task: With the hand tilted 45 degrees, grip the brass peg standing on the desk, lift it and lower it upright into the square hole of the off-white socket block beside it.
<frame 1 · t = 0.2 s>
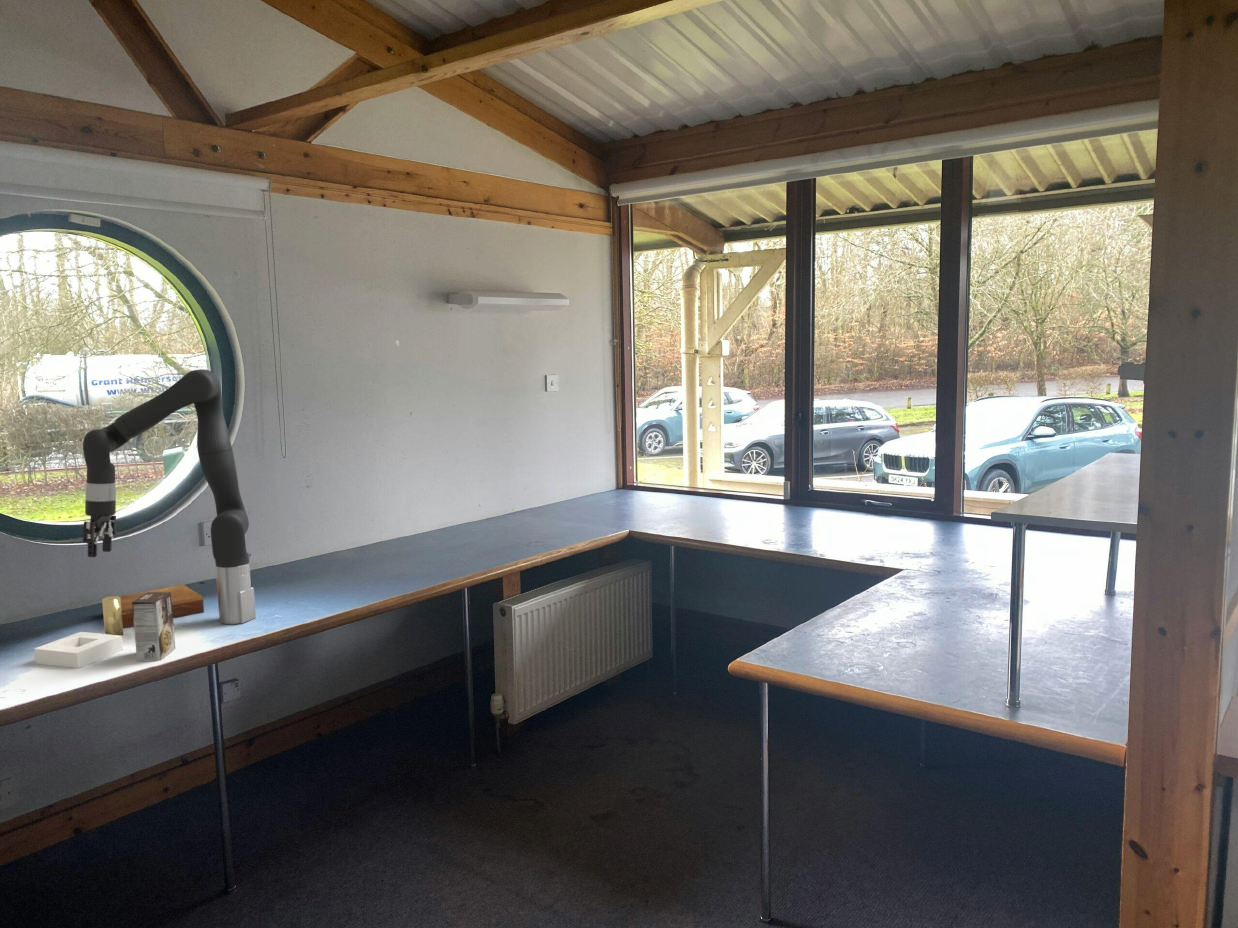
hand: (99, 554, 249), 22 cm above the table, tool pointing down, fingers open, 8 cm apart
coffee box: (156, 655, 230), on the table
peg: (114, 635, 246), on the table
socket: (80, 656, 230), on the table
brown wooden box: (154, 615, 267), on the table
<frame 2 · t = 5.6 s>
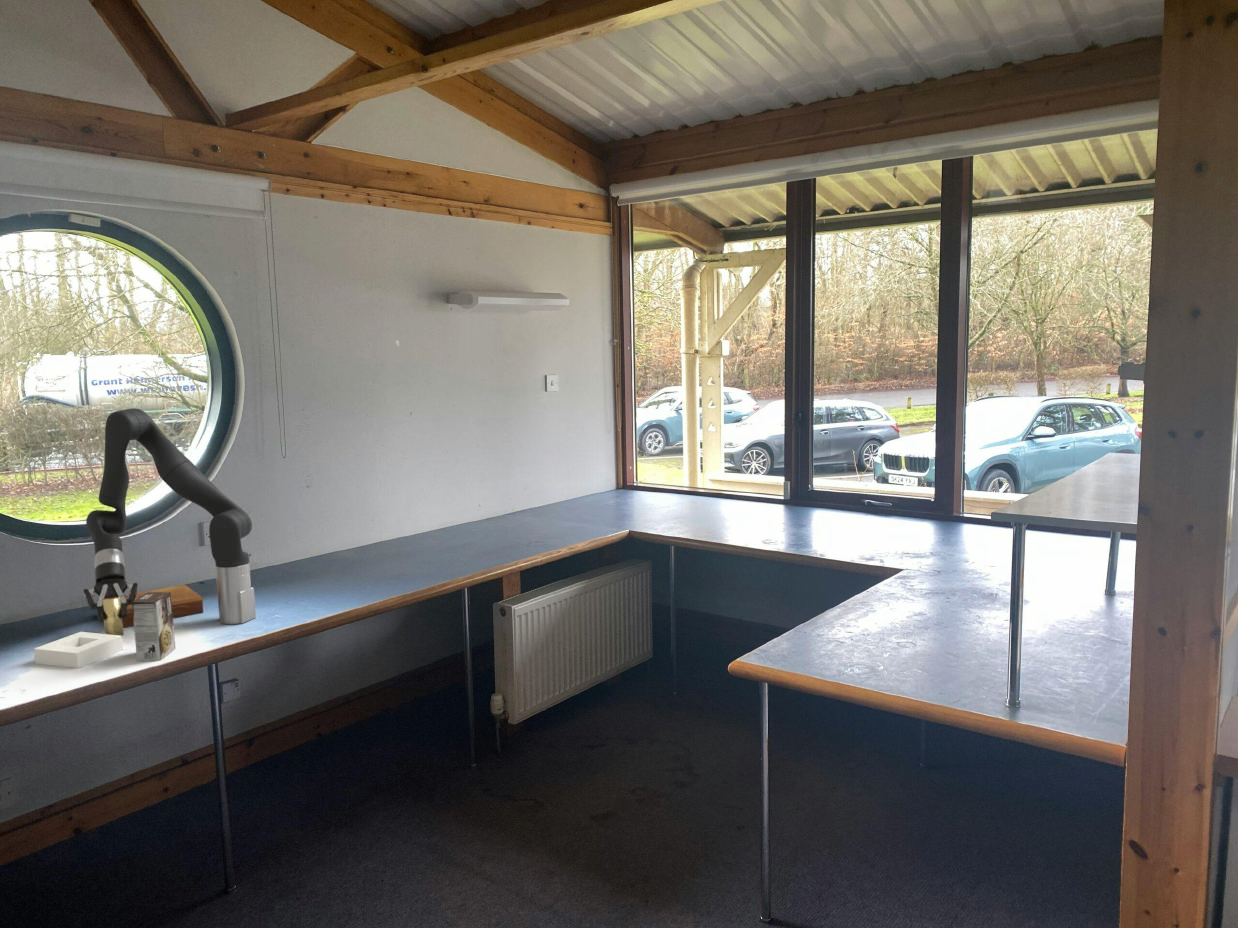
hand: (112, 618, 244), 6 cm above the table, tool tilted 45°, fingers closed on peg, 4 cm apart
peg: (114, 635, 246), on the table, touching gripper
everything else where it was.
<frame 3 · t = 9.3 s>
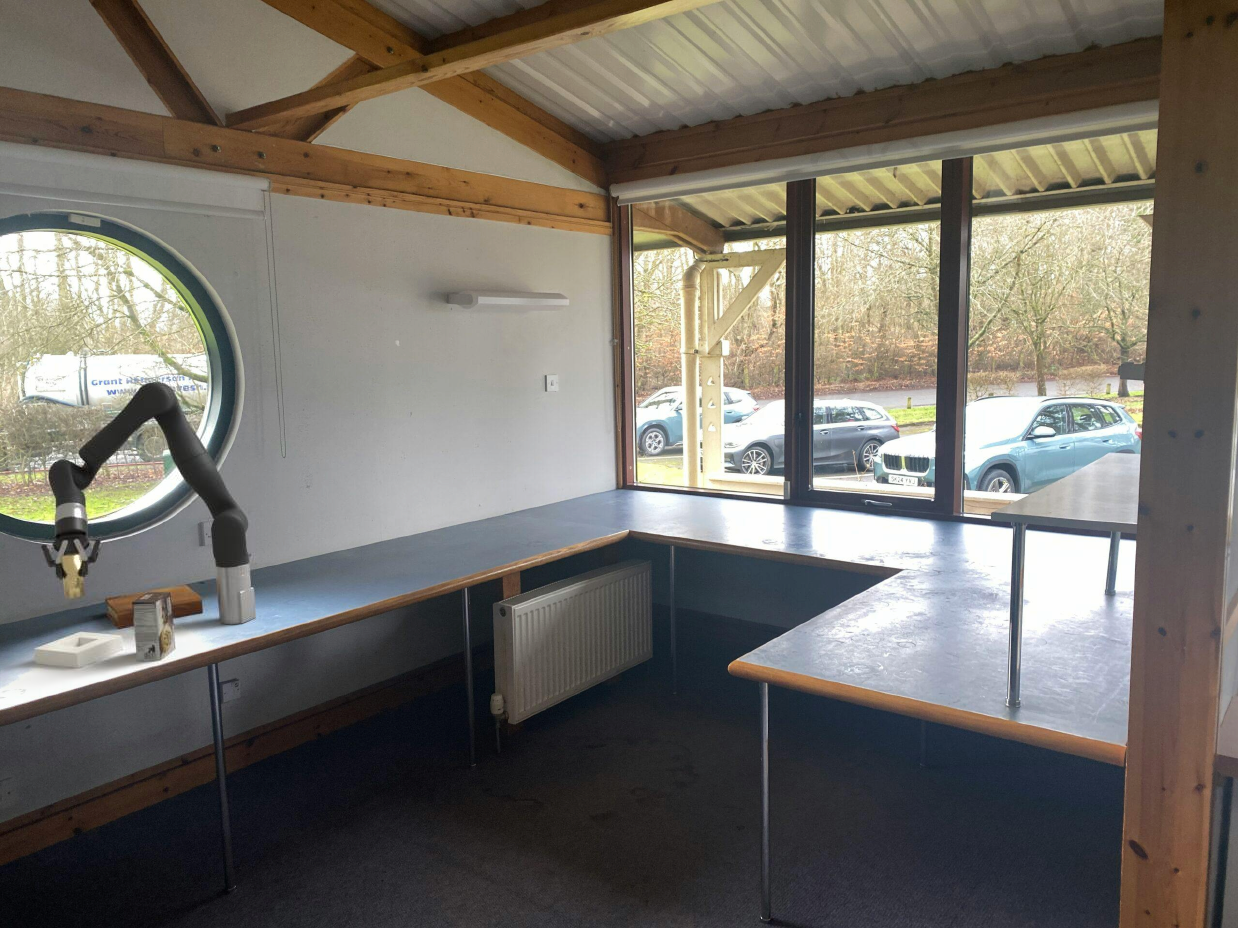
hand: (72, 576, 226), 22 cm above the table, tool tilted 45°, fingers closed on peg, 4 cm apart
peg: (74, 595, 228), point 16 cm above the table, touching gripper
everything else where it was.
when the fingers open (8 cm above the table, at t = 13.3 s): peg drops 2 cm, resting in socket.
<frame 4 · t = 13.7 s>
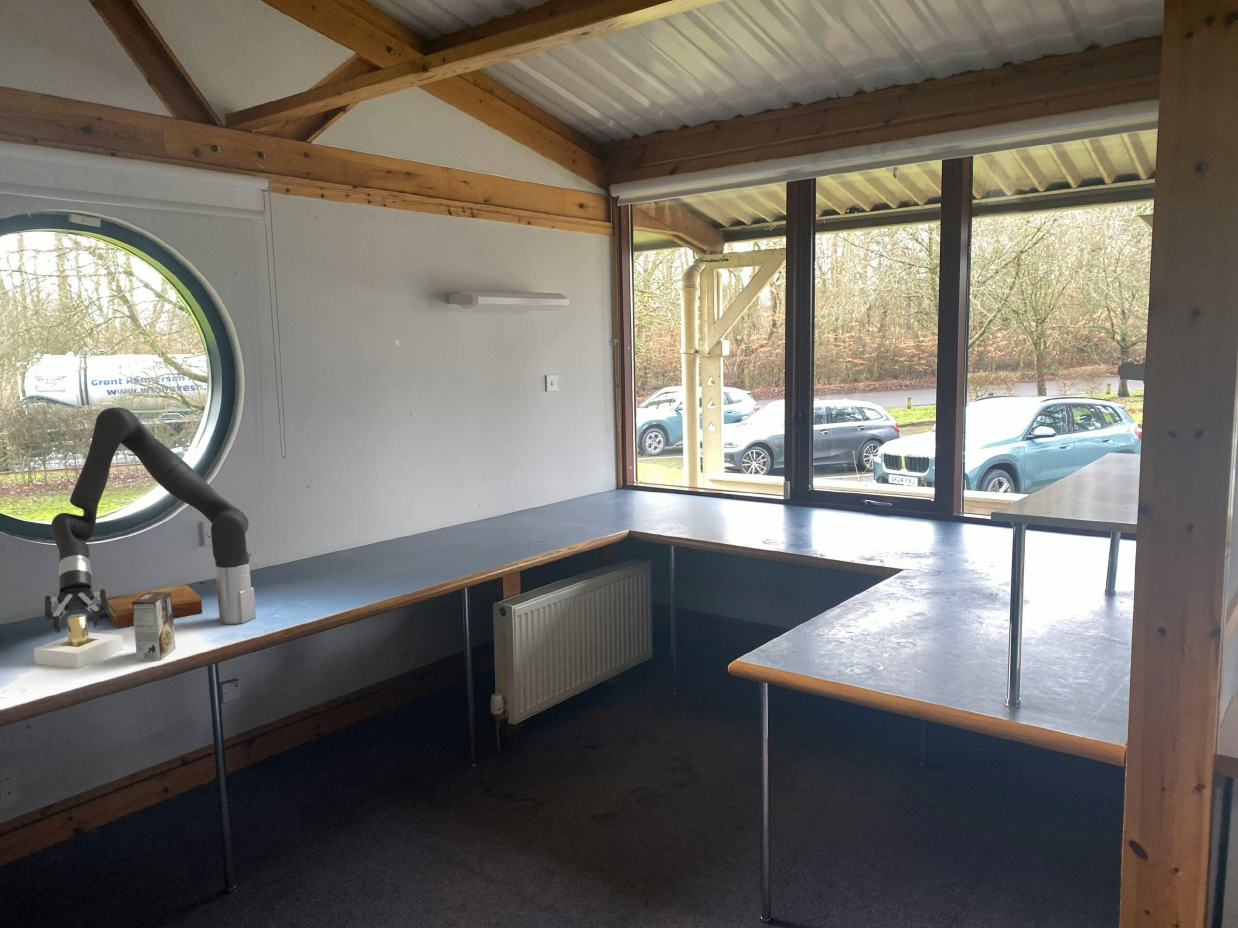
hand: (77, 628, 227), 8 cm above the table, tool tilted 45°, fingers open, 8 cm apart
peg: (80, 656, 230), resting in socket
everything else where it was.
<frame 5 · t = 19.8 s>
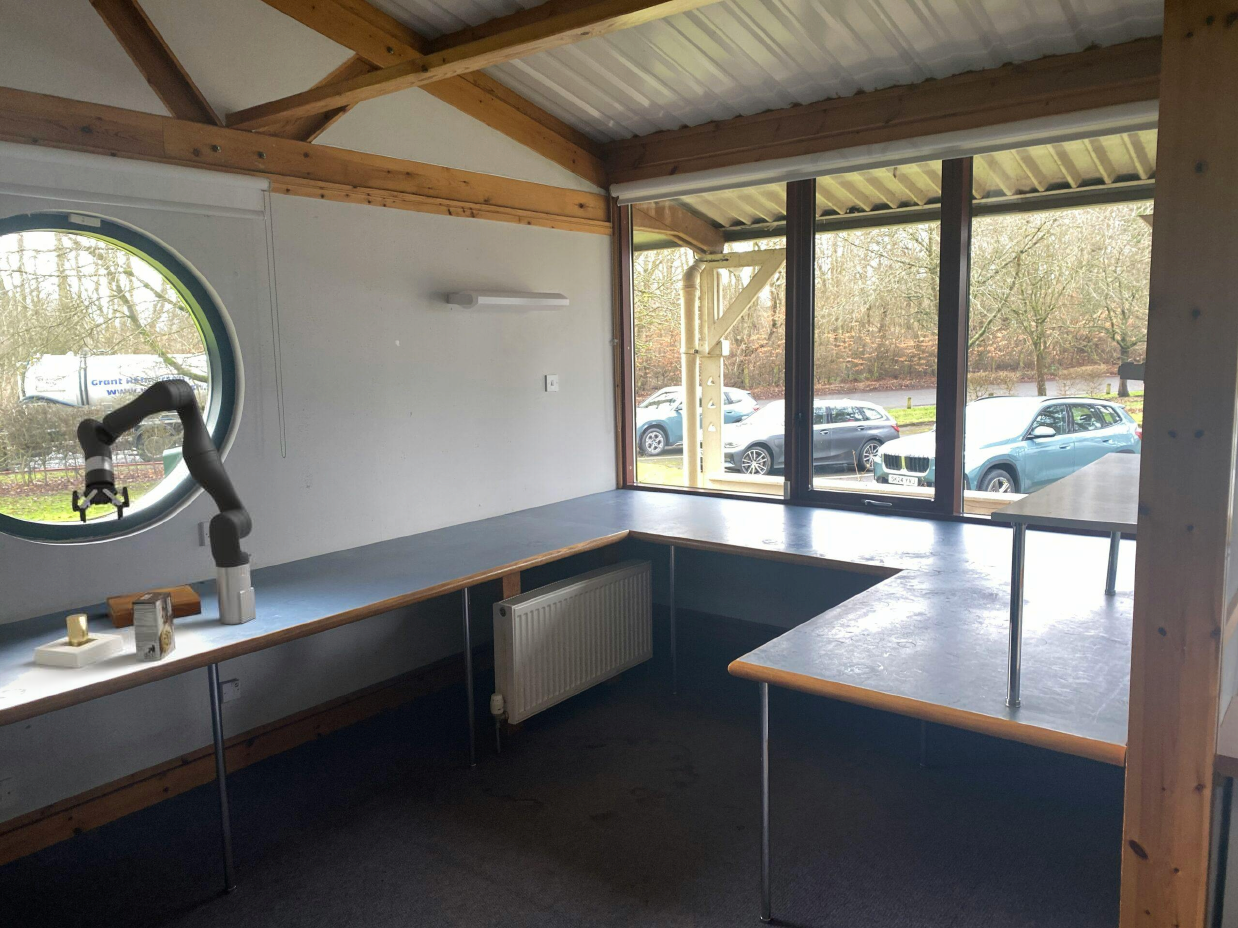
hand: (102, 519, 247), 33 cm above the table, tool tilted 45°, fingers open, 8 cm apart
nothing on the table moved.
at the end: peg 0.1 cm off-centre on the socket, point 0.0 cm above the socket's base; peg tilted 0°; the gripper is holding nothing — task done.
